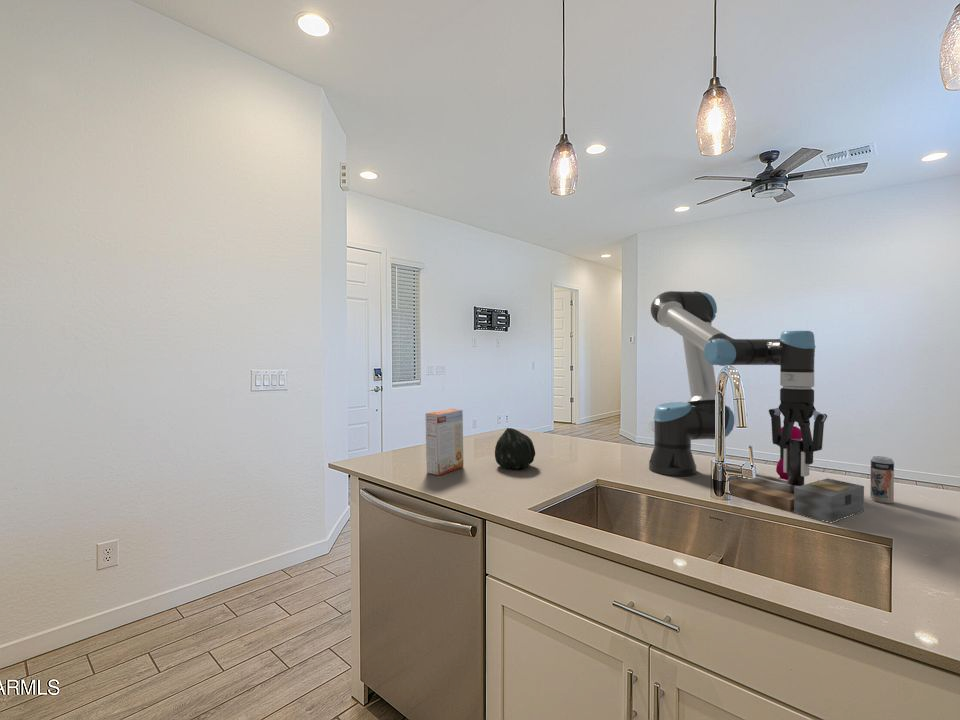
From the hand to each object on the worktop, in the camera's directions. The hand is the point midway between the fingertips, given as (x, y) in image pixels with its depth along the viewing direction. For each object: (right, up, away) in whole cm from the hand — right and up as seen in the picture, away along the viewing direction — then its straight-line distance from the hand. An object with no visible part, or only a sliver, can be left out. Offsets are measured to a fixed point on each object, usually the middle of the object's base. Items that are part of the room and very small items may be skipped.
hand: (796, 473), depth 119 cm
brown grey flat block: (-1, -8, +2) cm, 8 cm away
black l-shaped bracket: (+1, -5, -3) cm, 6 cm away
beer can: (+24, -8, +1) cm, 26 cm away
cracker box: (-98, -8, +35) cm, 105 cm away
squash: (-73, -8, +39) cm, 84 cm away
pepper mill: (+10, -8, +16) cm, 20 cm away
